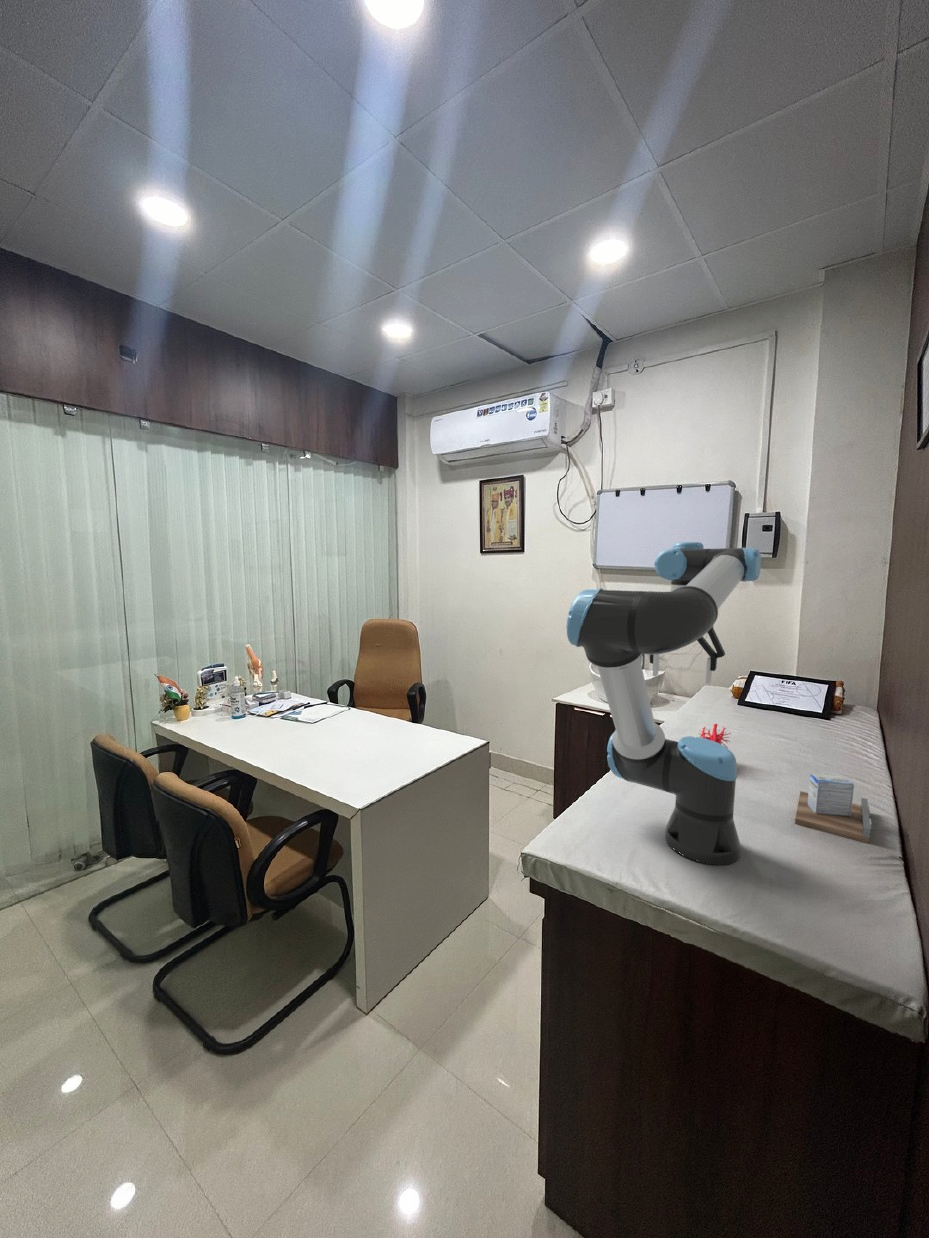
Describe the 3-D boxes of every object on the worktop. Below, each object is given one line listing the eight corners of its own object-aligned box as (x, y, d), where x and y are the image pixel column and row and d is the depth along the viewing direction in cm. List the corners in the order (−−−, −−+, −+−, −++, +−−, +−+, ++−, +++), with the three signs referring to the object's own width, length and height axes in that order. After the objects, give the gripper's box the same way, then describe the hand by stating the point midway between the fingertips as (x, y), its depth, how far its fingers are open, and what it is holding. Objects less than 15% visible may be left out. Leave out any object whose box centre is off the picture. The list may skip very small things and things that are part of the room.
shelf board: (870, 843, 112) (872, 829, 112) (794, 823, 120) (796, 810, 120) (867, 812, 126) (868, 799, 126) (800, 796, 135) (801, 784, 134)
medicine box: (841, 808, 125) (844, 775, 124) (851, 817, 121) (854, 783, 120) (806, 805, 127) (809, 772, 126) (815, 814, 122) (818, 780, 121)
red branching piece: (688, 767, 154) (690, 730, 152) (696, 755, 163) (698, 720, 162) (724, 775, 148) (726, 736, 146) (730, 763, 157) (732, 726, 156)
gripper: (740, 602, 128) (735, 682, 130) (642, 597, 143) (639, 670, 145) (735, 604, 122) (729, 688, 124) (633, 599, 137) (630, 674, 139)
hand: (681, 678), depth 135 cm, fingers open, 13 cm apart
